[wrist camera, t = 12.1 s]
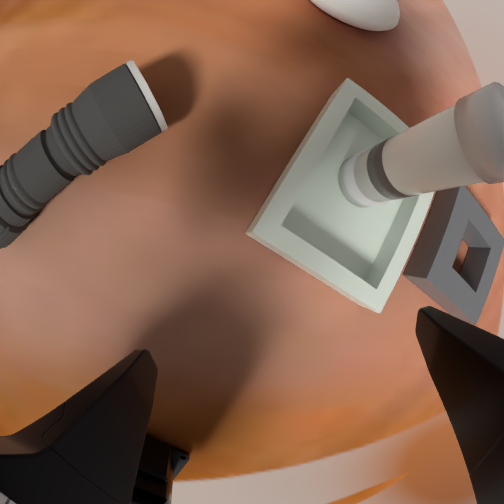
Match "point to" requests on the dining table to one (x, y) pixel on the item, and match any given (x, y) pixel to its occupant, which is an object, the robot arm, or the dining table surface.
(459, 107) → the frosted bulb
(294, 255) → the parts tray
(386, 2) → the flower in vase
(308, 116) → the dining table surface
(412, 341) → the dining table surface
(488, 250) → the socket block
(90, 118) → the flashlight
